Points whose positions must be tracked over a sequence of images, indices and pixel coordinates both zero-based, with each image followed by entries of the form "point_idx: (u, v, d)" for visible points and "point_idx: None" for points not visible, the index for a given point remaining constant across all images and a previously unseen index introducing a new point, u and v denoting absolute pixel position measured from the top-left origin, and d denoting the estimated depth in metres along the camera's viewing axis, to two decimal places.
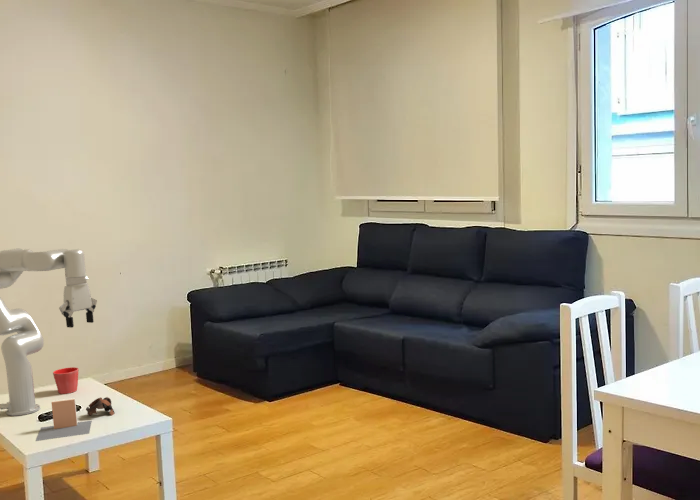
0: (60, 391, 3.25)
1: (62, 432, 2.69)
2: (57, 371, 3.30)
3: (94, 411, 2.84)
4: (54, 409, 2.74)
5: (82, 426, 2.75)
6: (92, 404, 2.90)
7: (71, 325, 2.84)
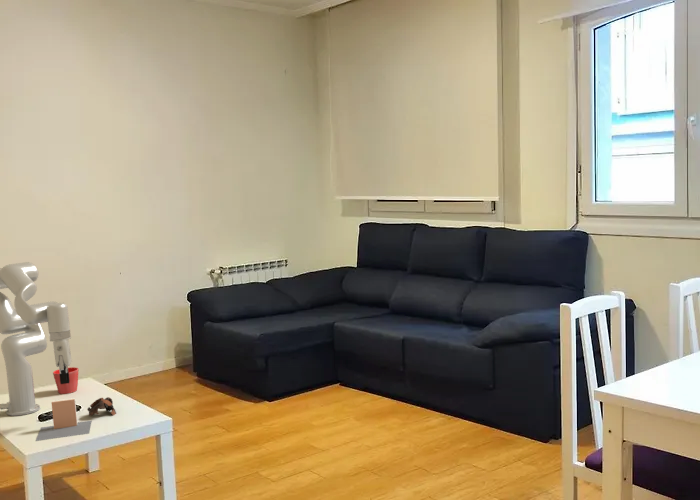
0: (60, 391, 3.25)
1: (62, 432, 2.69)
2: (57, 371, 3.30)
3: (96, 411, 2.83)
4: (54, 409, 2.74)
5: (82, 426, 2.75)
6: (93, 404, 2.89)
7: None
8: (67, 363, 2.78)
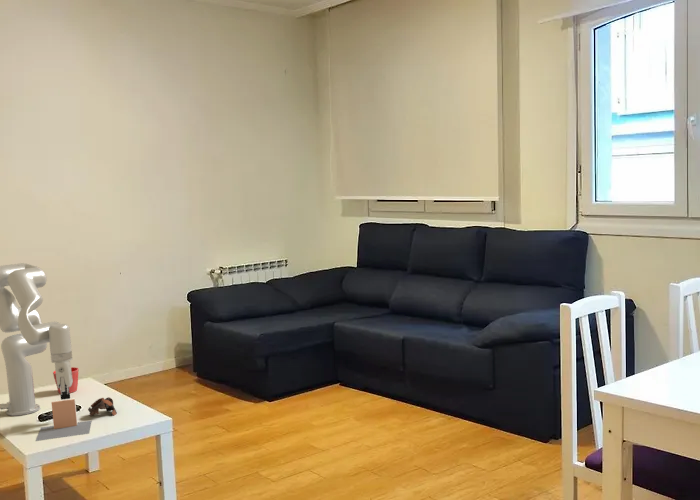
0: (60, 391, 3.25)
1: (62, 432, 2.69)
2: None
3: (96, 411, 2.83)
4: (54, 409, 2.74)
5: (82, 426, 2.75)
6: (94, 404, 2.89)
7: None
8: (68, 384, 2.78)
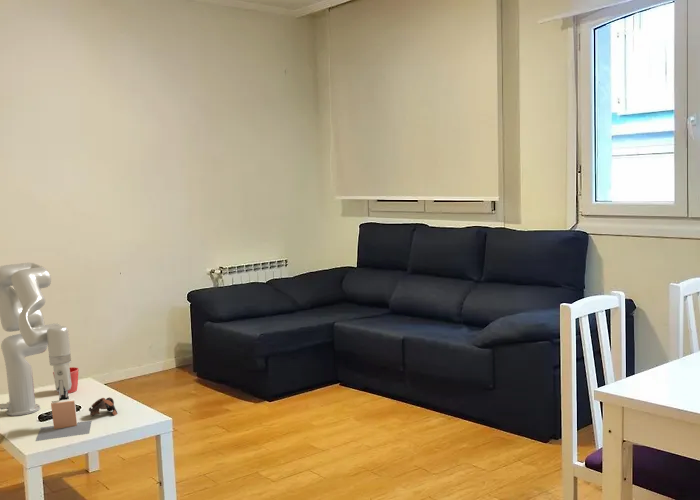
0: None
1: (62, 432, 2.69)
2: None
3: (97, 411, 2.83)
4: (54, 410, 2.73)
5: (82, 426, 2.75)
6: (95, 404, 2.89)
7: None
8: (67, 388, 2.73)
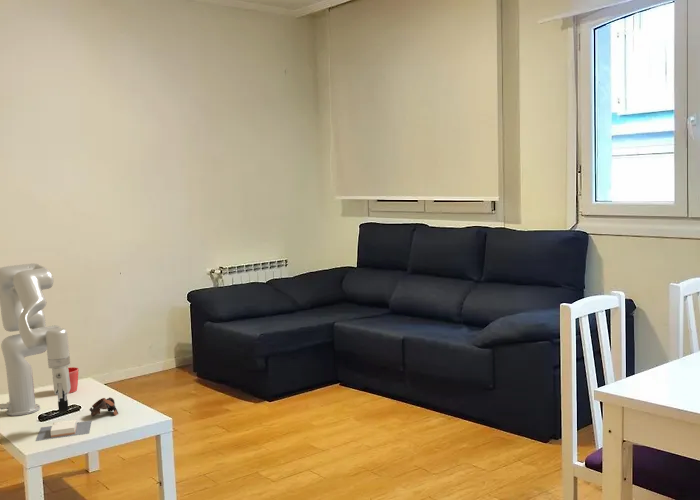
0: None
1: None
2: None
3: (98, 411, 2.83)
4: None
5: (82, 426, 2.75)
6: (95, 404, 2.89)
7: None
8: (66, 391, 2.69)
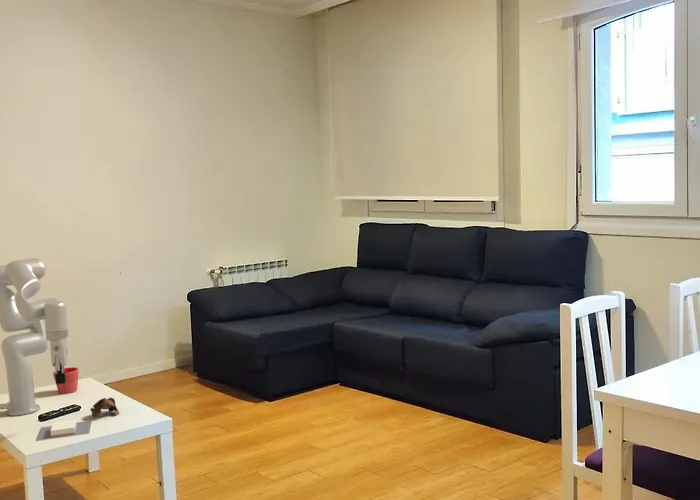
0: (60, 391, 3.25)
1: None
2: None
3: (99, 411, 2.83)
4: None
5: (82, 426, 2.75)
6: (96, 405, 2.89)
7: None
8: (63, 363, 2.71)
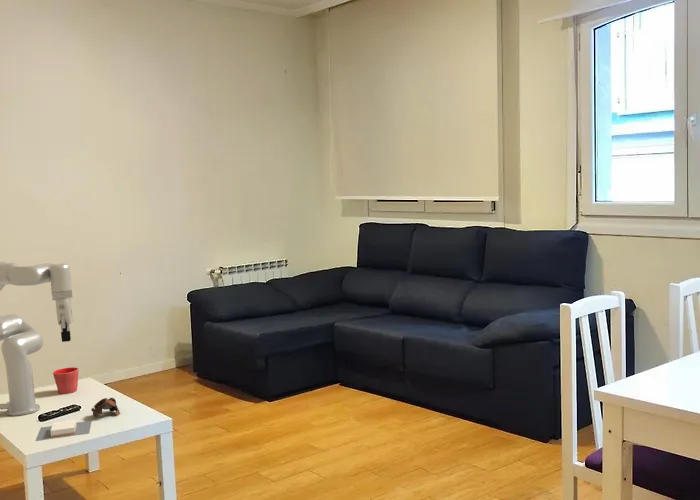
0: (60, 391, 3.25)
1: None
2: (57, 371, 3.30)
3: (100, 412, 2.83)
4: None
5: (82, 426, 2.75)
6: (97, 405, 2.88)
7: None
8: (68, 321, 2.88)
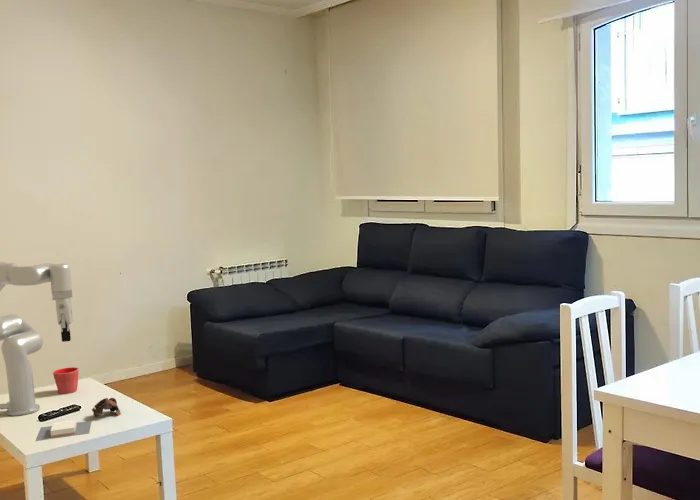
0: (60, 391, 3.25)
1: None
2: (57, 371, 3.30)
3: (101, 412, 2.82)
4: None
5: (82, 426, 2.75)
6: (98, 405, 2.88)
7: None
8: (69, 321, 2.88)
